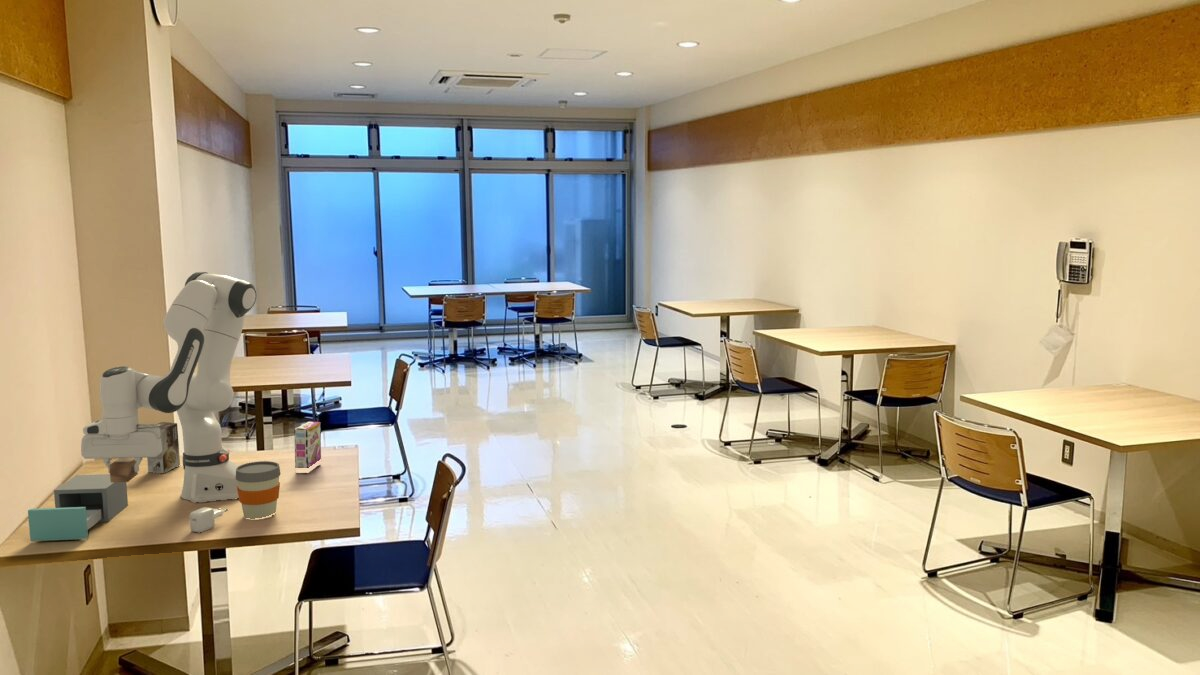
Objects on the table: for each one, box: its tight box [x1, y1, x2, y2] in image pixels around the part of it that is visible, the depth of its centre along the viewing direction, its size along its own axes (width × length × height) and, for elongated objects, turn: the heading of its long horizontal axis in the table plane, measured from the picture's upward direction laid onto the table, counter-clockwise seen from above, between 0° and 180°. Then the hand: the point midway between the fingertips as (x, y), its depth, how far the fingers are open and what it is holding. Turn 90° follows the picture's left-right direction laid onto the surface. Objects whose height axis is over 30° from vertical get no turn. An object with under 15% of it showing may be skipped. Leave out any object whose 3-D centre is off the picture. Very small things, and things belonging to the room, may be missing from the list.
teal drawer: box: [27, 507, 102, 542], centre depth 231 cm, size 14×14×9 cm
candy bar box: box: [294, 421, 322, 469], centre depth 291 cm, size 11×5×16 cm, turn 174°
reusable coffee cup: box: [235, 460, 281, 519], centre depth 247 cm, size 13×12×15 cm
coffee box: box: [146, 421, 181, 474], centre depth 289 cm, size 9×6×16 cm
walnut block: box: [109, 458, 139, 483], centre depth 232 cm, size 4×7×5 cm, turn 9°
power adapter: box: [189, 506, 229, 533], centre depth 238 cm, size 11×5×6 cm, turn 160°
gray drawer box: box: [53, 473, 129, 523], centre depth 245 cm, size 14×14×10 cm
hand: (124, 472), depth 232 cm, fingers closed on walnut block, 4 cm apart
